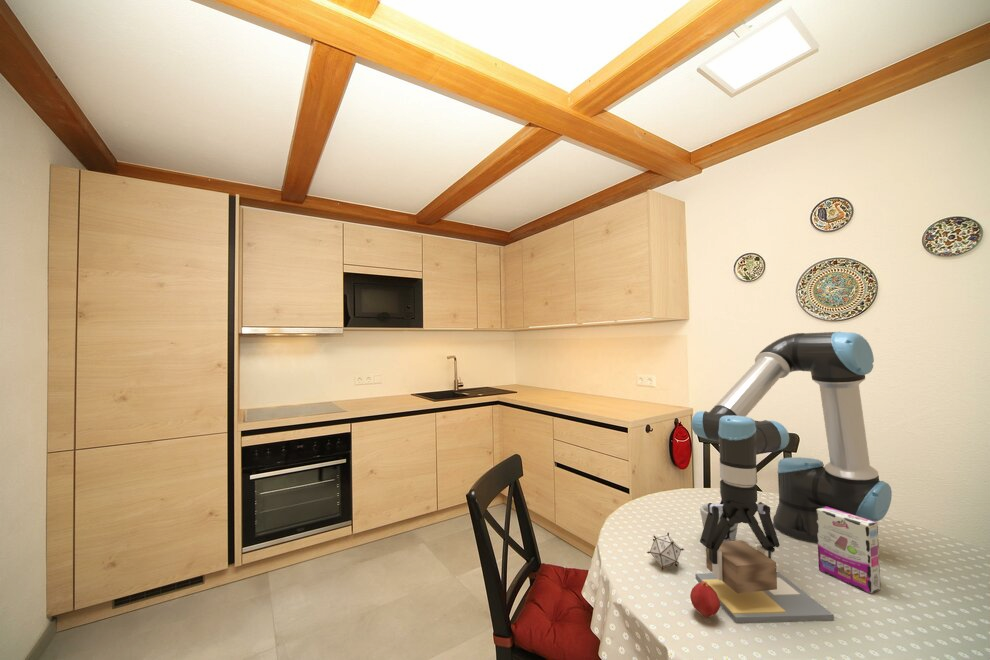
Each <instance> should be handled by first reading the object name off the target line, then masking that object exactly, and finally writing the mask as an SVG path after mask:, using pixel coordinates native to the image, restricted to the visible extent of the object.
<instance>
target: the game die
mask: <svg viewBox="0 0 990 660" xmlns="http://www.w3.org/2000/svg"><path fill="white" fill-rule="evenodd" d="M652 537H653V538H652V545H651V547H650V550H647V552H646V553H647V554H651V556H652V557H653V558H654V560H656V562H658V564H659V565H660V566H661V571H663V570H664V568H666V567H670V566H675V567H678V565H680V562H679V561H678V560H679V558H680V555H681V552H682V551H685V549H684V548H680V546H679V545H678V544H676V543H677V542H675V541H674V540H673V538H671V536H670V533H669V531H668V532H667V534H666V535H662V536H657V537H656V535H654V534H653V536H652Z"/></svg>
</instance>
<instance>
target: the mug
mask: <svg viewBox="0 0 990 660" xmlns="http://www.w3.org/2000/svg"><path fill="white" fill-rule="evenodd" d="M708 504H709V503H704V504H701V505H700V506H699V511H700V516H701V522H702V528H703V529H704V525H705V522H706V518H707V515H708ZM712 504H713V505H716V504H717V503H712ZM720 513H721V515H722V513H723V511H722V510H721V512H720ZM721 515H719V520H718V523H719V521H720V516H721ZM727 520H728V521H729V519H728V518H727ZM718 523H717V525H718ZM738 526H739V523H735V524H734V526H733V527H731V528H730V530H729V532H728V533H727V535H726V537H725V539H724V541H723V542H727V541H737V539H736V538H737V533H738Z"/></svg>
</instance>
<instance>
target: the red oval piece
mask: <svg viewBox="0 0 990 660" xmlns="http://www.w3.org/2000/svg"><path fill="white" fill-rule="evenodd" d="M689 597H690V602H691V605H692V606H693V608H694V609H695V610H696V611H697V612H698V613H699V614H700V615H701V616H702V617H703V618H705V619H708V618H711V617H712V616H715V615H716V614H718V612H719V611H720V608H721V606H720V601H719V598H718V595H717V593H716V592H715V591H714V589H713V588H712V587H711V586H709V585H708V584H707V581H703V582H701V583H699V582H698V583H696V584H695V585H694V586H693V587H692V588H691V591H690V595H689Z"/></svg>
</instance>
